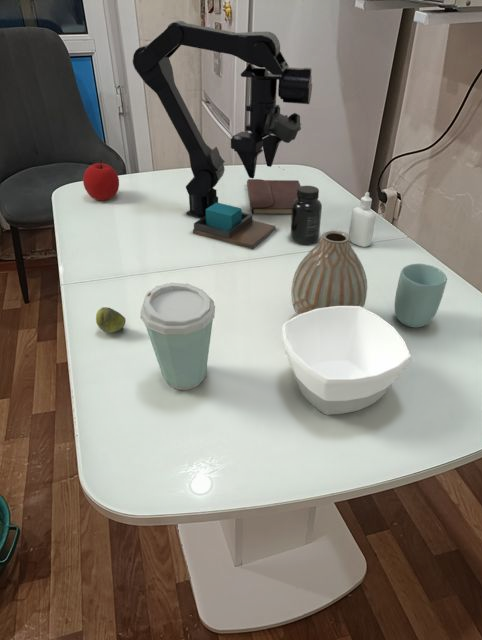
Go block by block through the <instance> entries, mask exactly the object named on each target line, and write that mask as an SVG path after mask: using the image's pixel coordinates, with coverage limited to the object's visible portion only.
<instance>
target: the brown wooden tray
mask: <svg viewBox="0 0 482 640" xmlns="http://www.w3.org/2000/svg"><path fill="white" fill-rule="evenodd" d="M276 228H277V227H276V225H275V224H270V223H265V222H261V221H258V220H254V214H252V213H249V212H243V211H242V221H240V222H239V223H238V224H236V225H235V226H234V227H232V228H231V229H230V230H228V231H227V230H223V229H219V228H215V227H212V226H208V225H206V216H204V217H203V218H199V219H198V220H197V221H195V222H193V229H192V234H194V235H197V236H201V237H205V238H209V239H213V240H217V241H220V242H224V243H228V244H231V245H236V246H239V247H243V248H246V249H250V250H254V249H255V248H256V247H257V246H258V245H259V244H261V243H262V242H263V241H264V240H265V239H266V238H268V237H269V236H270V235H271V234H272V233H273V232H275V231H276Z"/></svg>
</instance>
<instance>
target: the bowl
mask: <svg viewBox="0 0 482 640" xmlns="http://www.w3.org/2000/svg"><path fill="white" fill-rule="evenodd" d="M280 331H281V340H282V345H283V348H284V351H285V353H286V356H287V359H288V362H289V365H290V367H291V369H292V373H293V376H294V379H295V382H296V385H297V387H298V389H299V391H300V392H301V395H302V396H303V397H304V398H305V399H306V400H307V401H308V402H309V403H310V404H311V405H312V406H313V408H315V409H317V410H318V411H319V412H320V413H322V414H323V415H343V414H349V413H354V412H358V411H360V410H363V409H365V408H367V407H369V406H371V405H373V404H375V403H376V402H377V401H379V400H380V399H381V398H382V397H383V396H384V394H385V393H386V392H387V391H388V389H389V388H390V387H391V386H392V385H393V383H395V381H396V380H397V379H398V378H399V376H400V375H402V373H403V372H404V371H405V369H406V368H407V367H408V366H409V365H410V363H411V362H412V356H411V353H410V351H409V348H408V346H407V344H406V342H405V339H403V337H402V336H401V334H400V333H399V331H397V330H396V328H395V327H394V326H393V325H391V324H390V323H389V322H387V321H386V320H384V319H383V318H382V317H381V316H379V315H378V314H376V313H374V312H372V311H370V310H368V309H367V308H365V307H360V306H334V307H326V308H318V309H315V310H312V311H309V312H306V313H303V314H300V315H297V314H296V316H294V317H292V318H290V319H288V320H287V321H285V322H283V324H282V326H281V328H280Z"/></svg>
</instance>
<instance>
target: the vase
mask: <svg viewBox="0 0 482 640" xmlns="http://www.w3.org/2000/svg"><path fill="white" fill-rule="evenodd" d="M290 296H291V304H292V307H293V310H294V313H295V315H296V316H297V315H300V314H303V313H306V312H309V311H312V310H315V309H318V308H326V307H334V306H360V307H363V308H365V305H366V300H367V296H368V279H367V274H366V270H365V268H364V265H363V263H362V262H361V260H360V257H359V256H358V255H357V253H356V252H355V250H354V248H353V247H352V244H351V241H350V237H349V233H348V234H347V233H346V232H344V231H342V230H341V231H340V230H327V231H324V233H322V236H321V239H320V241H319V242H318V244H316V246H314V247H313V248H312V249H311V250H309V252H308V253H307V254H306V255H305V256H304V257H303V259H302V260H301V261H300V263H299V264H298V266H297V268H296V270H295V272H294V275H293V278H292V283H291V295H290Z"/></svg>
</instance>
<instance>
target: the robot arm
mask: <svg viewBox="0 0 482 640" xmlns="http://www.w3.org/2000/svg"><path fill="white" fill-rule="evenodd" d="M181 46H185V47H191V48H194V49H195V48H196V49H200V50H205V51H211V52H215V53H221V54H226V55H231V56H233V57H236V58H238V59H240V61H241V60H242V61H243V62H245V63H247V65H246V68H245V69H244V70H243V71H242V72H241V73H240V77H242V78H249V104H247V105H246V106H245V111H246V112H249V124H247V125H245V131H240V132H238V133H236V134H234V135H233V136H232V137H231V138H230V149H232V150H233V151H234V152H236V153H237V155H238V157H239V159H240V161H241V163H242V164H243V167H244V170H245V171H246V174H247V176H248V179H255V175H256V171H257V169H256V168H257V162H258V157H259V155H260V154H261V153H262V152H263V154H264V159H265V164H266V166H267V167H269V168H272V166H273V163H274V161H275V157H276V154H277V151H278V149H279V145H280V143H282V142H283V143H287V144H289V143H291V141H294V140H296V138H297V135H298V132H299V131H301V130H302V126H301V125H302V123H301V115H300V114H298V113H296V112H293V113H292V114H290V115H289V116H288V115H287V114H285V115H284V114H282V113H281V107H280V105H279V104H277V95H278V97H279V99H280V100H282V102H283V103H286V104H287V103H288V104H298V105H299V104H301V105H310V104H311V100H312V99H311V98H312V93H313V92H312V91H313V83H312V78H313V77H312V68H311V67H301V68H300V67H289V64H288V62H287V61H286V58H285V57H284V55H283V53H282V52H281V44H280V40H279V38H278V37H277V35H276V34H275V33H274V32H271V31H247V32H236V31H229V30H224V29H219V28H212V27H209V26H204V25H197V24H193V23H188V22H186V21H183V20H177V21H174V22H171V23H169V25H168V26H167V27H166V29H164V30H163V32H161V33H160V34H159V35H158V36H157V37H156V38H154V39H153V40H152V41H151V42H150V43H148V44H145V45H143V46H140V47H138V48H137V49H136V50H135V51H134V53H133V57H132V65H133V68H134V70H135V72H137V75H138V76H139V78H140V79H141V80H142V81H143V82H144V84H146V85H147V86H148V88H150V89H151V90H152V91H153V92H154V93H155V94H156V95H157V97H158V99H159V100H160V103H161V105H162V107H163V108H164V110H165V112H166V114H167V116H168V118H169V120H170V122H171V123H172V125H173V128H174V129H175V131H176V132H177V135H178V136H179V139H180V141H181V142H182V144H183V146H184V148H185V150H186V151H187V154H188V157H189V165H190V169H191V172H192V175H193V177H192V179H190V181H189V182H188V183H187V184H186V185H185V189H186V192H187V194H188V200H189V201H188V202H189V203H188V204H189V210H188V211H186V213H185V214H186V215H187V216H190V217H195V218H198V219H201V218H203V217H204V216H206V209H207V208H209V207H210V206H212V205H213V204H215V203H216V202H217V203H219V196H218V194H217V189H215V188H214V187H216V185H218V183H219V182H220V180H221V179H222V177H223V176H224V174H225V171H226V170H225V165H224V163H225V162H226V161H225V160H224V159H223V158H222V156H221V154H220V151H219V148H218V147H217V146H215V147H214V148H211V147H210V146H209V145H208V144H207V143H206V142H205V140H204V137H203V136H202V134H201V131H200V130H199V128H198V126H197V124H196V123H195V120H194V119H193V117H192V114H191V112H190V110H189V109H188V107H187V104H186V103H185V101H184V99H183V96H182V95H181V93H180V90H179V89H178V87H177V85H176V82H175V77H174V70H173V66H172V63H171V60H170V58H171V57H172V56H173V55H174V54H175V53H176V52H177V51H178V50H179V48H180V47H181ZM277 88H278V89H277Z"/></svg>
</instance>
